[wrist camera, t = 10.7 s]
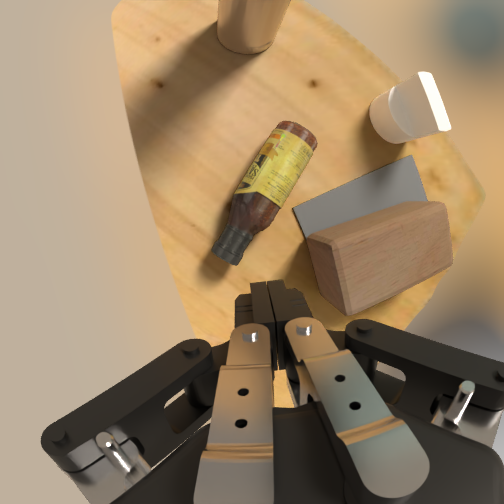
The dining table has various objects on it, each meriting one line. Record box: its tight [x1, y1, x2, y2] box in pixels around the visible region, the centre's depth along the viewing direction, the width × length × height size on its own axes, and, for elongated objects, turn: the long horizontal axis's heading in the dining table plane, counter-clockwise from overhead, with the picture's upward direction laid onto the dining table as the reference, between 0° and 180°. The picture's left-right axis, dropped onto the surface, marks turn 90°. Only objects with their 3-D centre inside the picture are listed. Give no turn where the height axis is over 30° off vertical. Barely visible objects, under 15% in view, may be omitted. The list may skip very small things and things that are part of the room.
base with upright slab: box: [369, 72, 451, 144], centre depth 35 cm, size 9×9×12 cm
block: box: [307, 201, 453, 316], centre depth 38 cm, size 10×10×20 cm
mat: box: [293, 155, 428, 240], centre depth 43 cm, size 16×24×1 cm, turn 115°
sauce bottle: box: [211, 121, 317, 266], centre depth 37 cm, size 6×6×20 cm
